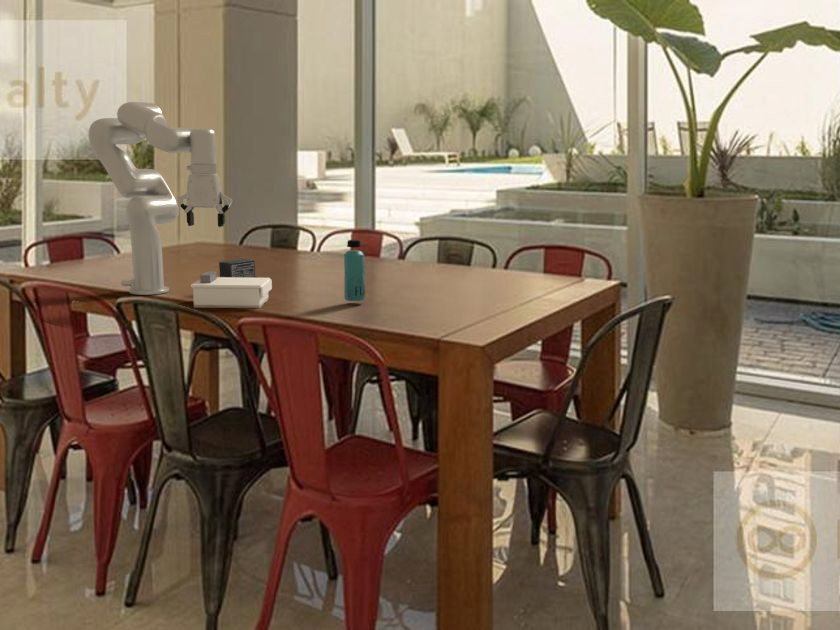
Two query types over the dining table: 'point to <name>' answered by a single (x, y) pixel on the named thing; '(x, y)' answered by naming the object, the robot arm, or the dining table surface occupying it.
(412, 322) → the dining table surface
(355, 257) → the beverage bottle
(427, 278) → the dining table surface
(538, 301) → the dining table surface
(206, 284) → the lid
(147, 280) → the robot arm
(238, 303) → the base
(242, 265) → the small box
